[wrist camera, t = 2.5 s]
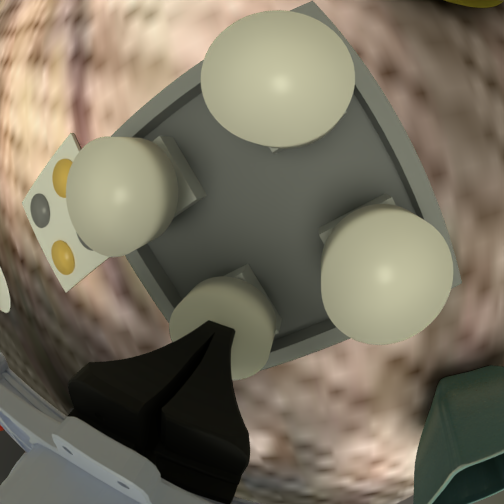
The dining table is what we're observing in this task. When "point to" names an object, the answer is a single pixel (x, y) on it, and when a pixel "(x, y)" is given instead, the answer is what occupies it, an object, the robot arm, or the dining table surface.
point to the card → (59, 220)
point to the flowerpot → (477, 3)
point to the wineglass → (4, 294)
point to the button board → (273, 201)
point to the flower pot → (463, 440)
